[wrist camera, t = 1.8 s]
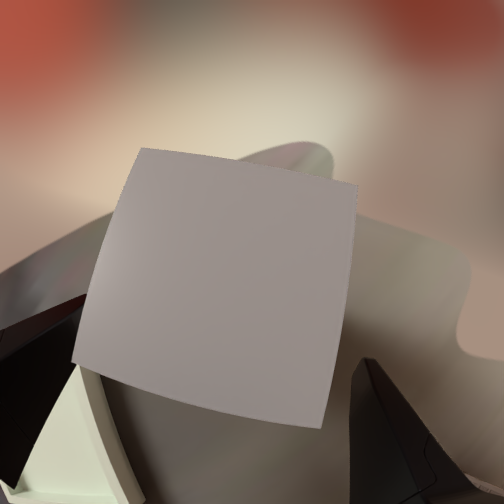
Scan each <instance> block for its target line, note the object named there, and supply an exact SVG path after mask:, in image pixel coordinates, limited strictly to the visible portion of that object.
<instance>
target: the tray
mask: <svg viewBox="0 0 504 504" xmlns="http://www.w3.org/2000/svg"><path fill="white" fill-rule="evenodd" d="M0 484H1V486H2V489H3V491H4V493H5V495H6V497H7V499H8V501H9V503H13V504H143V503H144V502H145V500H146V499H145V497H144V495H143V492H142V490H141V488H140V486H139V484H138V482H137V479H136V477H135V475H134V473H133V470H132V468H131V465H130V463H129V461H128V458H127V456H126V453H125V451H124V448H123V445H122V443H121V440H120V437H119V435H118V432H117V429H116V426H115V423H114V420H113V417H112V414H111V411H110V408H109V405H108V402H107V399H106V395H105V392H104V388H103V385H102V381H101V378H100V374H99V373H96V372H94V371H91V370H89V369H86V368H84V367H82V366H79V365H77V366H76V367H75V369H74V371H73V373H72V374H71V376H70V378H69V380H68V381H67V383H66V385H65V387H64V389H63V391H62V392H61V394H60V396H59V398H58V400H57V402H56V403H55V405H54V407H53V409H52V411H51V413H50V415H49V417H48V419H47V421H46V423H45V425H44V427H43V429H42V431H41V433H40V435H39V437H38V439H37V441H36V443H35V445H34V448H33V450H32V452H31V454H30V456H29V458H28V461H27V463H26V465H25V467H24V470H23V472H22V474H21V476H20V479H19V481H18V484H17V486H16V488H15V490H13V489H12V488H11V487H9V486H8V485H6V484H5V483H4V482H2V481H1V480H0Z"/></svg>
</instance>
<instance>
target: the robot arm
mask: <svg viewBox="0 0 504 504" xmlns="http://www.w3.org/2000/svg"><path fill="white" fill-rule="evenodd" d="M86 297H87V294H83V295H80V296H78V297H76V298H73V299H71V300H69V301H66V302H64V303H62V304H59V305H57V306H55V307H52V308H50V309H48V310H45V311H43V312H41V313H38V314H36V315H34V316H32V317H29V318H27V319H25V320H22V321H20V322H18V323H16V324H13V325H11V326H9V327H7V328H5V329H2V330H0V480H1V481H2V482H4V483H5V484H6V485H8V486H9V487H11V488H12V489H13V490H15V488H16V486H17V484H18V481H19V479H20V476H21V474H22V472H23V470H24V467H25V465H26V463H27V461H28V458H29V456H30V454H31V452H32V450H33V448H34V445H35V443H36V441H37V439H38V437H39V435H40V433H41V431H42V429H43V427H44V425H45V423H46V421H47V419H48V417H49V415H50V413H51V411H52V409H53V407H54V405H55V403H56V402H57V400H58V398H59V396H60V394H61V392H62V391H63V389H64V387H65V385H66V383H67V381H68V380H69V378H70V376H71V374H72V373H73V371H74V369H75V367H76V366H77V364H75V363H73V362H71V361H72V356H73V351H74V347H75V342H76V337H77V333H78V329H79V324H80V320H81V316H82V312H83V308H84V304H85V301H86ZM429 432H430V431H429V430H428V429H427V427H426V426H425V424H424V423H423V422H422V420H421V419H420V418H419V416H418V415H417V414H416V412H415V411H414V410H413V408H412V407H411V406H410V404H409V403H408V402H407V400H406V399H405V398H404V396H403V395H402V394H401V392H400V391H399V390H398V388H397V387H396V386H395V384H394V383H393V382H392V380H391V379H390V378H389V376H388V375H387V374H386V372H385V371H384V370H383V369H382V367H381V366H380V365H379V363H378V362H377V361H376V360H375V359H374V358H367V357H364V358H362V359H361V361H360V362H359V364H358V366H357V368H356V370H355V371H354V373H353V376H352V385H351V400H350V413H349V436H350V502H349V504H504V496H500V495H496V494H492V493H488V492H485V491H482V490H480V489H479V488H477V487H476V486H475V485H474V484H473V483H472V482H471V481H470V480H469V479H468V478H467V477H466V475H465V474H464V473H463V472H462V471H461V470H460V469H459V468H458V466H457V465H456V464H455V463H454V462H453V461H452V460H451V458H450V457H449V456H448V455H447V454H446V452H445V451H444V450H443V449H442V447H441V446H440V445H439V443H438V442H437V441H436V439H435V438H434V437H433V435H432V434H431V433H429Z"/></svg>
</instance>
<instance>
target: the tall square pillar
mask: <svg viewBox="0 0 504 504" xmlns="http://www.w3.org/2000/svg"><path fill="white" fill-rule="evenodd" d="M357 192H358V186H357V185H353V184H350V183H346V182H342V181H337V180H333V179H329V178H324V177H320V176H316V175H311V174H306V173H302V172H297V171H292V170H287V169H282V168H277V167H272V166H266V165H261V164H255V163H250V162H244V161H238V160H232V159H225V158H219V157H213V156H206V155H198V154H191V153H184V152H176V151H168V150H159V149H150V148H141V149H140V151H139V153H138V155H137V158H136V160H135V162H134V165H133V167H132V169H131V171H130V174H129V176H128V178H127V181H126V183H125V186H124V188H123V190H122V193H121V195H120V198H119V200H118V203H117V206H116V208H115V211H114V213H113V216H112V219H111V222H110V224H109V227H108V230H107V233H106V236H105V238H104V241H103V244H102V247H101V250H100V253H99V256H98V260H97V263H96V266H95V269H94V272H93V276H92V279H91V283H90V286H89V290H88V293H87V297H86V301H85V304H84V308H83V312H82V316H81V320H80V324H79V329H78V333H77V337H76V342H75V347H74V351H73V356H72V361H71V362H73V363H75V364H77V365H79V366H82V367H84V368H86V369H89V370H91V371H94V372H96V373H99V374H101V375H104V376H106V377H109V378H111V379H114V380H117V381H119V382H122V383H125V384H128V385H130V386H133V387H136V388H139V389H142V390H145V391H148V392H151V393H154V394H157V395H161V396H164V397H167V398H170V399H174V400H177V401H181V402H184V403H188V404H192V405H195V406H199V407H203V408H207V409H211V410H215V411H219V412H224V413H228V414H233V415H237V416H242V417H247V418H252V419H258V420H263V421H269V422H275V423H281V424H288V425H295V426H302V427H310V428H319V429H321V426H322V422H323V417H324V413H325V409H326V405H327V401H328V396H329V392H330V387H331V382H332V378H333V373H334V368H335V363H336V358H337V352H338V347H339V341H340V336H341V330H342V324H343V318H344V311H345V305H346V298H347V291H348V284H349V276H350V268H351V260H352V251H353V241H354V231H355V219H356V207H357Z"/></svg>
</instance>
